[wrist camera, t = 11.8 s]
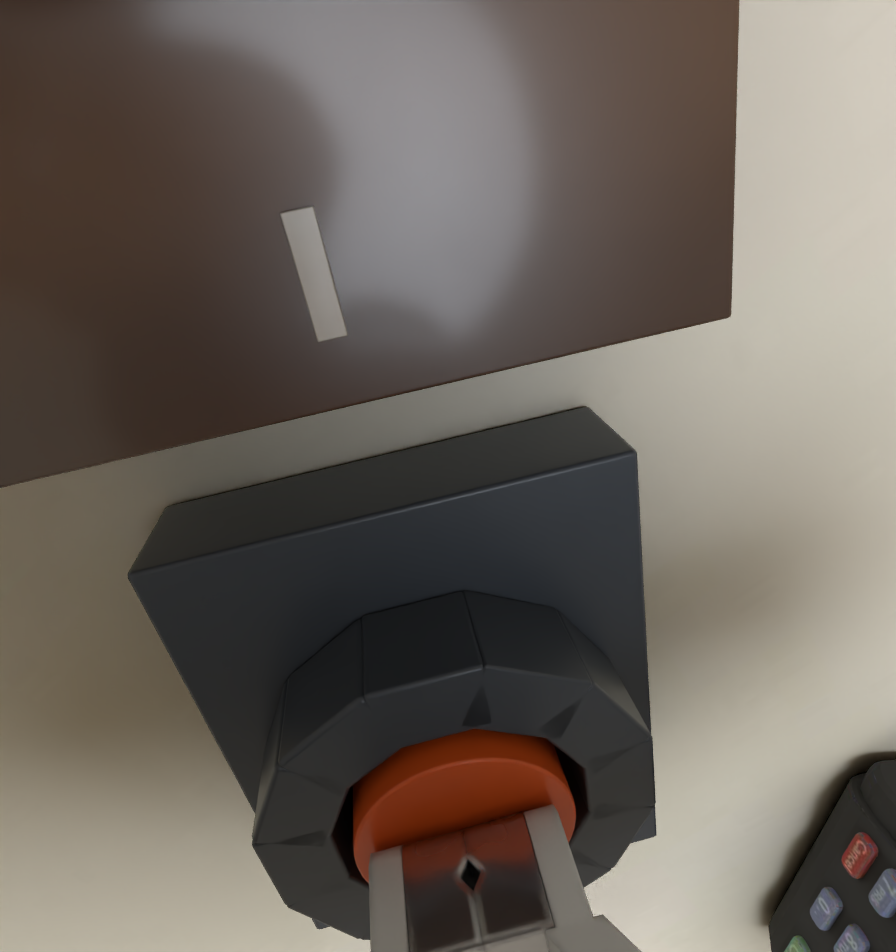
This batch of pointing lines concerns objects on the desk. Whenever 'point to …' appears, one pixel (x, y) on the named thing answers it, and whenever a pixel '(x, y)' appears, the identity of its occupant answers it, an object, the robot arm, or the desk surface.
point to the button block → (415, 634)
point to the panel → (341, 203)
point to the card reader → (847, 875)
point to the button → (456, 789)
